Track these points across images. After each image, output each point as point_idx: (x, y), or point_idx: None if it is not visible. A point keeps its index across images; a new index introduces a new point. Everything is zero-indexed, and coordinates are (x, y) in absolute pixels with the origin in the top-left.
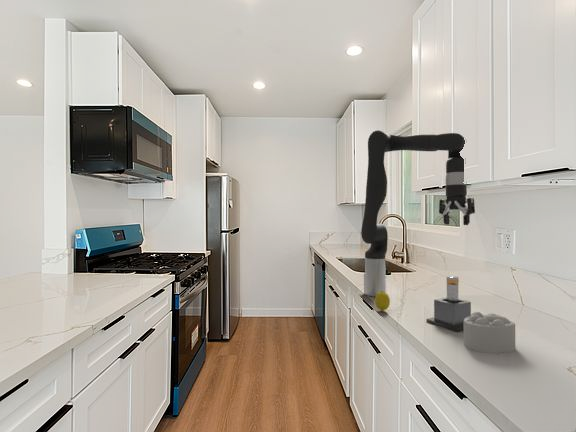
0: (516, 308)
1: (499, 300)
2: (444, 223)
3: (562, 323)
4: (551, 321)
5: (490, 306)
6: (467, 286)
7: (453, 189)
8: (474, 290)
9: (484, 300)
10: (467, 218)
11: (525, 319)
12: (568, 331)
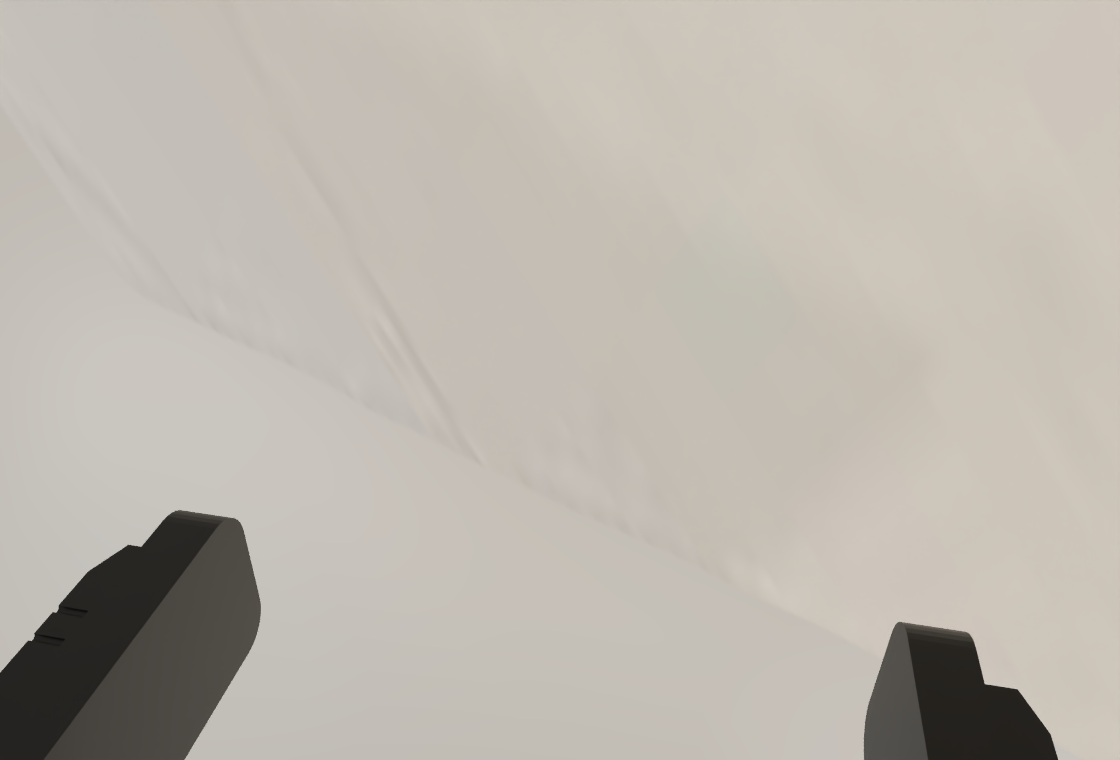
0: (446, 362)
1: (625, 477)
2: (968, 639)
3: (132, 241)
4: (176, 233)
5: (564, 279)
6: None
7: None
8: None
9: (687, 406)
10: (6, 681)
11: (253, 145)
12: (11, 101)
